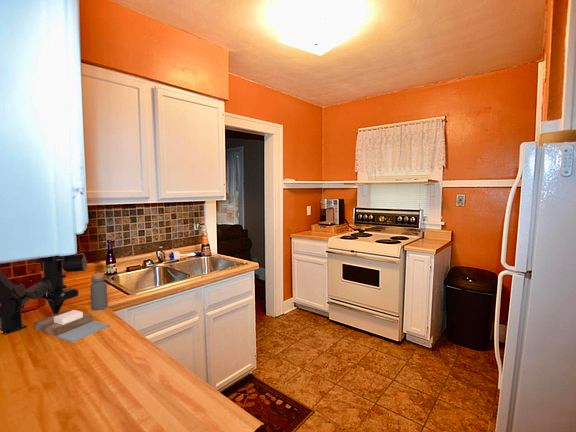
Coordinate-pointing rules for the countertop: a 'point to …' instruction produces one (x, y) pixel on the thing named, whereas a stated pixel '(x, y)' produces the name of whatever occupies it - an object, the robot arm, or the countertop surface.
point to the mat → (82, 331)
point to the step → (57, 329)
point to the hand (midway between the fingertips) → (55, 313)
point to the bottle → (98, 291)
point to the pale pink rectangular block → (68, 317)
